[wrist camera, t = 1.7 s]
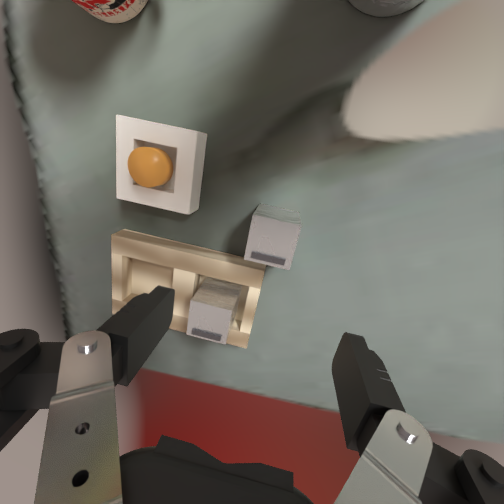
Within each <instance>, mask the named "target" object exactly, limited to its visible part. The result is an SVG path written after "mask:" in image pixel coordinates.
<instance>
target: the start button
mask: <svg viewBox="0 0 504 504" xmlns="http://www.w3.org/2000/svg"><path fill="white" fill-rule="evenodd" d="M128 170H129V173H130V175H131V177H132V178H133V180H134V181H135V182H136V183H138V184H139V185H141V186H143V187H155V186H159V185H163V184H166V183H167V182H168V181H169V180H170V179H171V177H172V175H173V163H172V160H171V158H170V157H169V155H168V154H167V153H166V152H165V151H163V150H162V149H159V148H155V147H138V148H136V149H134V150H133V151H132V152H131V153H130V155H129V158H128Z"/></svg>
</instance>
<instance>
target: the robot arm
mask: <svg viewBox="0 0 504 504" xmlns="http://www.w3.org/2000/svg"><path fill="white" fill-rule="evenodd" d="M348 1H349V2H350V3H351V4H352V5H353V6H354V7H355V8H357V9H358V10H360V11H361V12H363V13H366V14H369V15H372V16H378V17H388V16H393V15H398V14H401V13H403V12H405V11H408V10H410V9H412V8H414V7H415V6H416V5H418V4H419V3H421V2H422V1H424V0H348ZM174 298H175V290H174V289H172V288H168V287H164V286H160V285H158V286H157V287H155V288H154V289H153V290H152V291H151V292H150V293H149V294H147V293H142V294H140V295H138V296H136V297H133V298H132V299H131V300H130V301H129V302H128V303H127V304H126V305H124V306H123V307H122V308H121V309H120V311H118V312H116V313H115V314H114V315H113V316H112V317H111V318H110V319H109V320H107V321H106V322H105V323H104V324H103V325H102V326H101V327H99V328H98V329H97V330H96V331H86V332H82V333H79V334H76V335H74V336H73V337H71V338H70V339H68V340H67V341H66V342H40V340H39V335H38V333H37V332H36V331H34V330H30V329H15V330H10V331H7V332H3V333H1V334H0V451H1V450H2V449H3V448H4V447H5V446H6V445H7V444H8V443H9V442H10V441H11V440H12V438H13V437H14V436H15V435H16V434H17V433H18V432H19V431H20V430H21V429H22V428H23V426H24V425H25V424H26V423H27V422H28V421H29V420H30V419H31V418H32V417H33V416H34V415H35V413H36V412H37V411H38V410H39V409H49V413H48V420H47V426H46V432H45V438H44V444H43V450H42V457H41V463H40V469H39V476H38V482H37V489H36V494H35V501H34V504H313V502H312V501H311V500H310V499H309V498H308V497H307V496H306V495H304V494H303V493H302V492H301V491H299V490H298V489H297V488H295V487H294V486H293V472H290V471H286V470H283V469H279V468H275V467H272V466H269V465H265V464H262V463H235V464H226V463H222V462H221V461H219V460H218V459H216V458H214V457H213V456H211V455H210V454H208V453H207V452H205V451H204V450H202V449H200V448H199V447H197V446H196V445H194V444H192V443H188V442H185V441H182V440H178V439H175V438H171V437H168V436H164V435H162V436H161V437H160V440H159V442H158V444H157V446H156V447H155V446H153V447H145V448H140V449H137V450H133V451H131V452H129V453H126V454H124V455H122V456H120V457H119V446H118V432H117V417H116V403H115V388H114V387H115V386H116V385H117V384H120V385H124V386H128V385H129V383H130V382H131V380H132V379H133V378H134V376H135V375H136V374H137V372H138V371H139V369H140V368H141V367H142V365H143V364H144V362H145V361H146V360H147V358H148V357H149V355H150V354H151V353H152V351H153V350H154V348H155V347H156V346H157V344H158V343H159V341H160V340H161V339H162V337H163V336H164V334H165V333H166V332H167V330H168V329H169V327H170V324H171V322H172V318H173V309H174ZM332 375H333V380H334V385H335V390H336V395H337V400H338V405H339V410H340V415H341V420H342V425H343V431H344V435H345V441H346V446H347V448H348V449H351V450H355V451H358V452H359V455H360V459H359V461H358V463H357V464H356V466H355V468H354V470H353V471H352V473H351V475H350V477H349V478H348V480H347V482H346V484H345V485H344V487H343V489H342V491H341V492H340V494H339V496H338V498H337V500H336V501H335V503H334V504H504V467H503V466H501V465H500V464H499V463H498V462H497V461H495V460H494V459H492V458H491V457H489V456H488V455H486V454H484V453H482V452H479V451H477V450H472V449H470V450H466V451H465V452H464V453H463V455H462V456H461V457H459V456H457V455H455V454H454V453H451V452H450V451H448V450H446V449H444V448H442V447H441V446H439V445H437V444H435V443H433V442H432V440H431V438H430V435H429V434H428V432H427V431H426V429H425V428H424V427H423V426H422V425H421V424H420V423H419V422H418V421H417V420H416V419H415V418H413V417H412V416H411V415H409V414H407V413H406V412H405V409H404V407H403V405H402V403H401V401H400V398H399V396H398V394H397V392H396V390H395V388H394V385H393V383H392V382H391V379H390V377H389V374H388V373H387V370H386V368H385V366H384V363H383V361H382V360H381V359H380V358H379V357H378V355H377V354H376V353H375V352H374V351H372V350H369V349H368V347H367V344H366V342H365V339H364V337H362V336H359V335H355V334H351V333H347V332H345V333H344V334H343V336H342V338H341V341H340V343H339V346H338V348H337V351H336V353H335V356H334V358H333V362H332Z"/></svg>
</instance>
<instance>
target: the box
mask: <svg viewBox="0 0 504 504" xmlns="http://www.w3.org/2000/svg"><path fill="white" fill-rule="evenodd" d="M206 141H207V134H206V133H202V132H199V131H194V130H189V129H185V128H180V127H175V126H170V125H165V124H160V123H156V122H151V121H146V120H141V119H136V118H132V117H127V116H122V115H117V114H116V192H117V198H118V199H122V200H127V201H131V202H135V203H140V204H144V205H148V206H153V207H157V208H161V209H166V210H170V211H175V212H179V213H183V214H188V215H189V214H191V213H193V212H195V211H196V210H198V209H199V201H200V193H201V184H202V176H203V167H204V158H205V150H206ZM138 147H155V148H159V149H162V150H163V151H165V152H166V153H167V154H168V155H169V157H170V158H171V160H172V163H173V175H172V177H171V179H170V180H169V181H168V182H167V183H166V184H163V185H159V186H155V187H143V186H141V185H139V184H138V183H136V182H135V181H134V180H133V178H132V177H131V175H130V173H129V170H128V158H129V155H130V153H131V152H132V151H133V150H134V149H136V148H138Z"/></svg>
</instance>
